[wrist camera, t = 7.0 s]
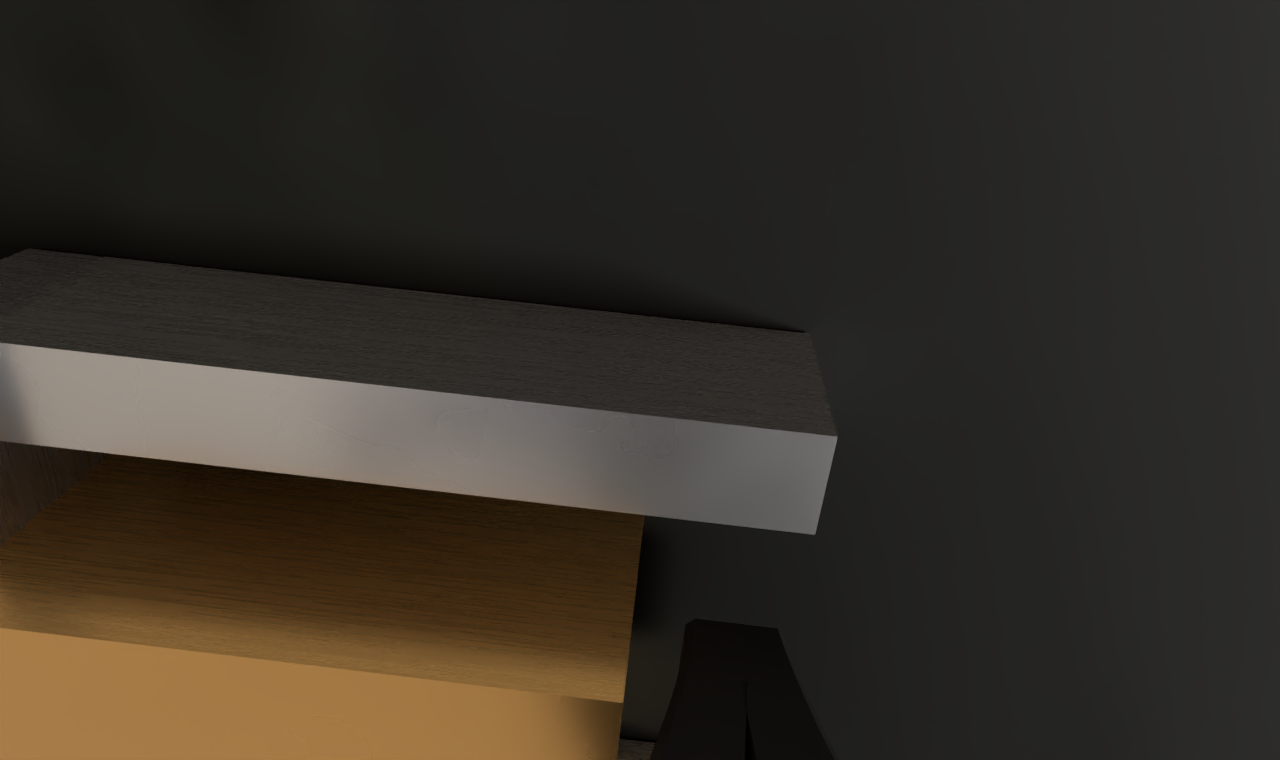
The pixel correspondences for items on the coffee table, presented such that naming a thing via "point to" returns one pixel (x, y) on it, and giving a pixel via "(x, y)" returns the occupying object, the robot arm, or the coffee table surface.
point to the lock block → (310, 621)
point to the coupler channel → (402, 394)
